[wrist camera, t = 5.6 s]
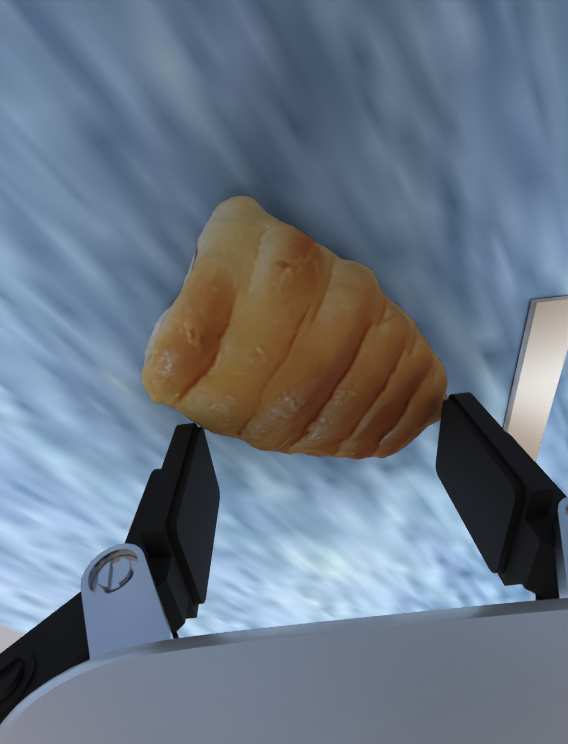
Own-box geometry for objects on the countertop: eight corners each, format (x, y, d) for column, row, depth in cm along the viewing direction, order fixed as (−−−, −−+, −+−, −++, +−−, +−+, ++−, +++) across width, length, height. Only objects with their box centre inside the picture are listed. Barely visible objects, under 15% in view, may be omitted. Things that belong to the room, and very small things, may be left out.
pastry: (474, 325, 13) (548, 379, 9) (362, 463, 15) (390, 544, 12) (219, 176, 10) (197, 177, 7) (138, 369, 13) (94, 438, 10)
